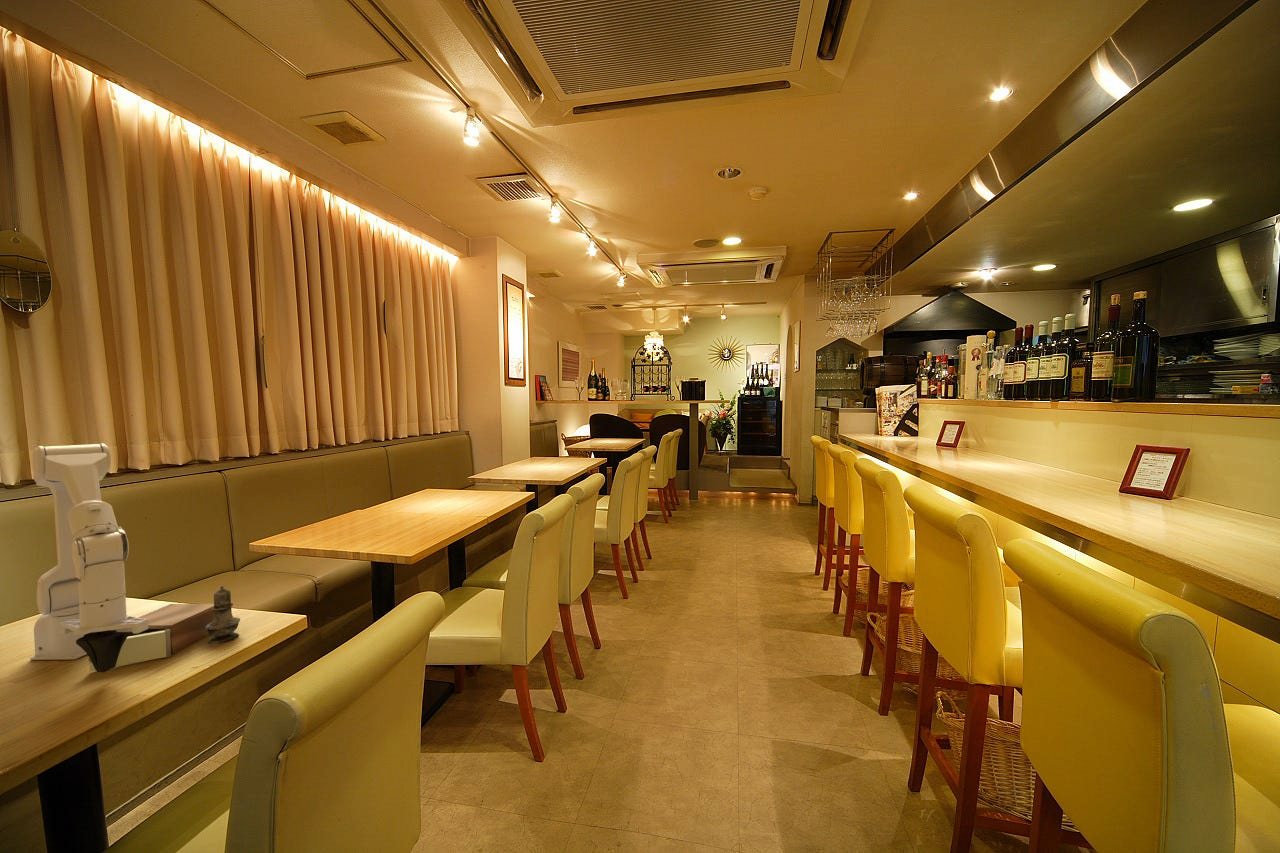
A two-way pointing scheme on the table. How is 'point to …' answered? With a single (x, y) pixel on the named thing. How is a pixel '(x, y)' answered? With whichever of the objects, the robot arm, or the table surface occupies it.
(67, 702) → the table surface
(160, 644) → the door
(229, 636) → the dark tiered stone ornament
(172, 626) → the cabinet
